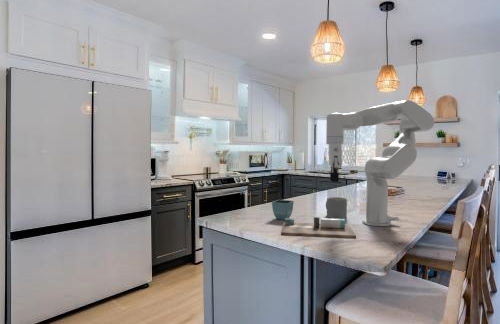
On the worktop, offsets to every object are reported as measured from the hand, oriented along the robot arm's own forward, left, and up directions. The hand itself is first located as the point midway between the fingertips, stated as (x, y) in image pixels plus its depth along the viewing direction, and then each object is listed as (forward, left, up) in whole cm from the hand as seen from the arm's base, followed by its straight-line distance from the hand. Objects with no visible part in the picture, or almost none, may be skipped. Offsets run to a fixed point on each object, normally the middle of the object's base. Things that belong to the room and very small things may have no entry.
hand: (334, 180), depth 144 cm
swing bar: (+1, +6, -20) cm, 21 cm away
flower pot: (+24, -13, -22) cm, 35 cm away
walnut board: (+8, +8, -21) cm, 24 cm away
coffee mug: (-3, -22, -21) cm, 31 cm away
